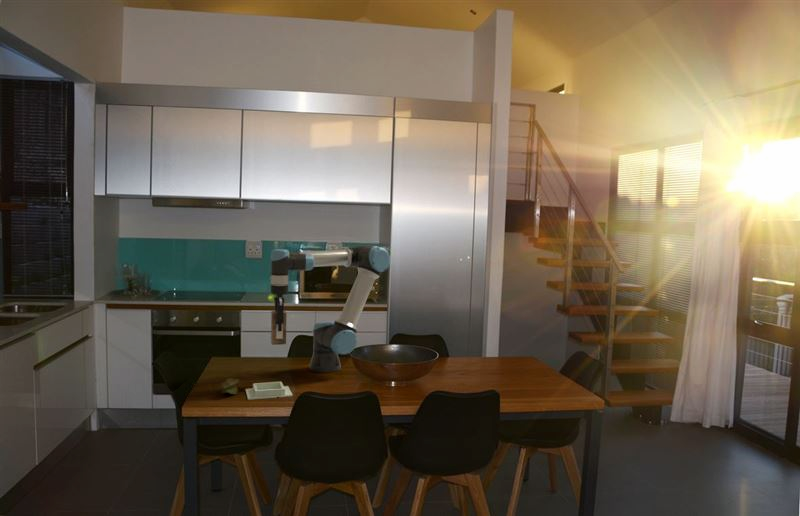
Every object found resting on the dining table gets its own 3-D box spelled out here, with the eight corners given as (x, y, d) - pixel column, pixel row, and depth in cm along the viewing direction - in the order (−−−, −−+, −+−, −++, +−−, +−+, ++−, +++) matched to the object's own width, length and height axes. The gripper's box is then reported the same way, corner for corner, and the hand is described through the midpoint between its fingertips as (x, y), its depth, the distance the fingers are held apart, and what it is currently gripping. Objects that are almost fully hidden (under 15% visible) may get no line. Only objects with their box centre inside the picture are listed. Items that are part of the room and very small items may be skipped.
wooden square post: (284, 342, 274) (285, 310, 273) (286, 344, 269) (286, 312, 269) (271, 342, 272) (271, 311, 272) (272, 344, 268) (272, 312, 267)
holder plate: (287, 387, 268) (288, 380, 267) (292, 396, 254) (292, 389, 254) (245, 390, 262) (245, 383, 262) (248, 399, 249) (248, 392, 248)
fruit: (249, 393, 257) (249, 378, 257) (223, 399, 249) (223, 383, 248) (234, 388, 265) (234, 373, 265) (209, 393, 257) (209, 377, 256)
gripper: (268, 282, 277) (268, 333, 278) (272, 287, 260) (272, 341, 261) (285, 282, 279) (284, 333, 280) (290, 286, 262) (289, 340, 263)
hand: (278, 337), depth 271 cm, fingers closed on wooden square post, 5 cm apart
